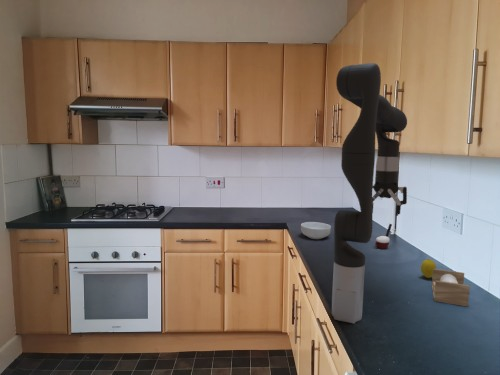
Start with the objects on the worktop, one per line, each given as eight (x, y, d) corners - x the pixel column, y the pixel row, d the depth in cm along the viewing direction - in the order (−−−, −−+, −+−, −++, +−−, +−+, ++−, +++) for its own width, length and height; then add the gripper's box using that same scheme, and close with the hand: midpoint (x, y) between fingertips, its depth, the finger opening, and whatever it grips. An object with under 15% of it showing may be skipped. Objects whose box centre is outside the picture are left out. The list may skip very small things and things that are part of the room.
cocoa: (376, 250, 180) (376, 227, 178) (371, 246, 186) (372, 224, 184) (394, 249, 180) (395, 226, 178) (389, 245, 186) (390, 223, 184)
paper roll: (451, 301, 123) (464, 292, 121) (438, 289, 124) (451, 279, 122) (448, 291, 131) (460, 282, 129) (436, 280, 132) (448, 270, 130)
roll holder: (467, 306, 119) (469, 286, 118) (434, 300, 123) (435, 281, 122) (462, 291, 131) (463, 272, 130) (431, 286, 135) (433, 268, 134)
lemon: (437, 281, 140) (439, 261, 139) (422, 280, 141) (423, 260, 140) (432, 276, 146) (434, 257, 144) (418, 275, 146) (419, 256, 145)
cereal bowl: (322, 243, 189) (322, 230, 188) (294, 238, 199) (295, 225, 198) (335, 236, 203) (336, 224, 202) (309, 231, 213) (309, 220, 212)
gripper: (364, 169, 126) (362, 214, 128) (409, 171, 120) (405, 218, 123) (367, 167, 133) (364, 210, 135) (408, 169, 127) (405, 214, 129)
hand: (384, 214), depth 129 cm, fingers open, 8 cm apart
